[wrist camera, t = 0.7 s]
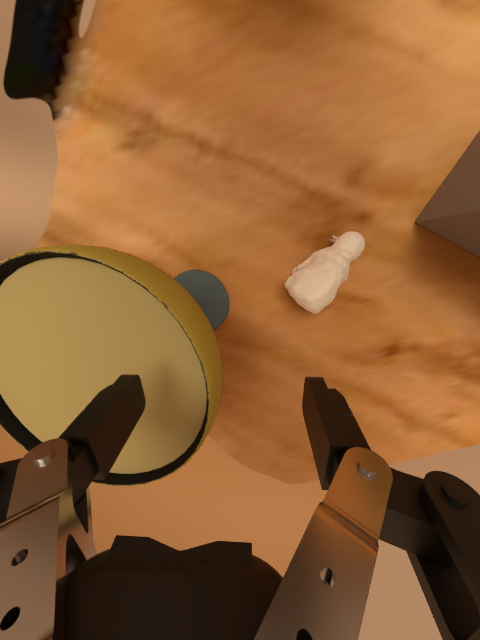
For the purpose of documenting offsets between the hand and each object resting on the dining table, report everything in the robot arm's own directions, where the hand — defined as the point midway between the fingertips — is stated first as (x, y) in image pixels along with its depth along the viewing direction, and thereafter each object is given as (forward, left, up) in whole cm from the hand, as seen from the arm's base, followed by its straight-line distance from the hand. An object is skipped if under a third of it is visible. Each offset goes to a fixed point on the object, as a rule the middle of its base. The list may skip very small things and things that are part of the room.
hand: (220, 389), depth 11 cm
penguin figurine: (-6, +9, -28) cm, 30 cm away
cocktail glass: (+4, -9, -27) cm, 29 cm away
